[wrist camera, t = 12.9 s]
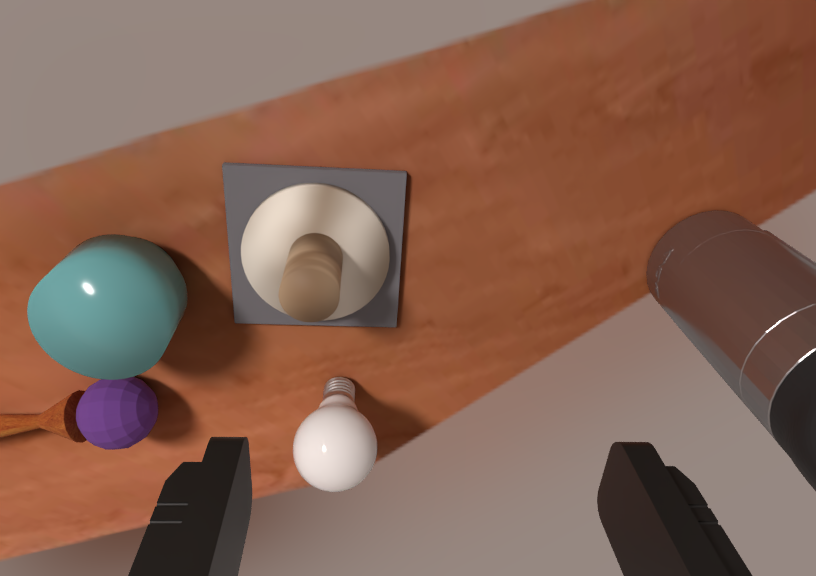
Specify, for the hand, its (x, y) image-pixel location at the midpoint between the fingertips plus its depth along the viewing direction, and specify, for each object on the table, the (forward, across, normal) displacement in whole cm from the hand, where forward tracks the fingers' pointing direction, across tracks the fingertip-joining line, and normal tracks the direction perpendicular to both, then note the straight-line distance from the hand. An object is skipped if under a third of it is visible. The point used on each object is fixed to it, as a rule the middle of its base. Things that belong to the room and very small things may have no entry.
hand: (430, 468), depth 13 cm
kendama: (+34, +28, +26) cm, 50 cm away
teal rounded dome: (+33, +19, +13) cm, 40 cm away
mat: (+33, +5, +10) cm, 35 cm away
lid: (+32, +5, +10) cm, 34 cm away
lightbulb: (+33, +3, +23) cm, 40 cm away
